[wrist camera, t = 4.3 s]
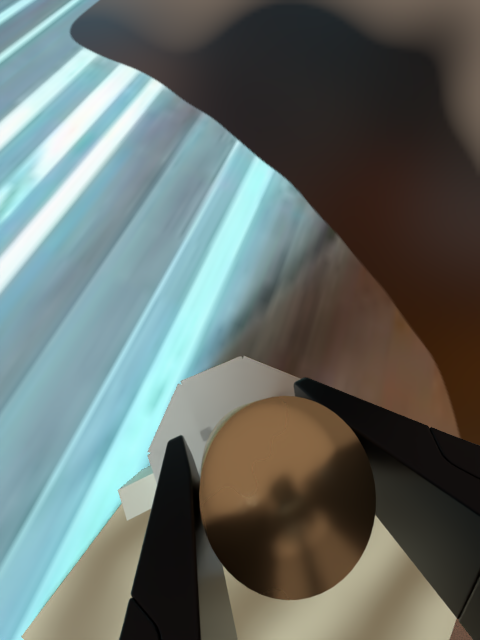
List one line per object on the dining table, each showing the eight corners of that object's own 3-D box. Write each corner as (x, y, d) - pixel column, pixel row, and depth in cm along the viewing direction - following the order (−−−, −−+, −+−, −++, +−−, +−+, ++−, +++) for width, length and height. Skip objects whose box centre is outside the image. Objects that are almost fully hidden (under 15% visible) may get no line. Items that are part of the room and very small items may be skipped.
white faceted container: (258, 358, 21) (287, 328, 14) (308, 468, 19) (373, 501, 12) (130, 413, 19) (83, 412, 12) (172, 542, 17) (148, 637, 10)
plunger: (261, 377, 16) (335, 329, 7) (303, 470, 14) (458, 557, 6) (173, 417, 14) (124, 420, 6) (211, 520, 13) (222, 725, 5)
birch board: (467, 542, 20) (480, 548, 19) (337, 907, 14) (346, 942, 13) (228, 362, 22) (229, 360, 21) (31, 624, 16) (21, 636, 15)
